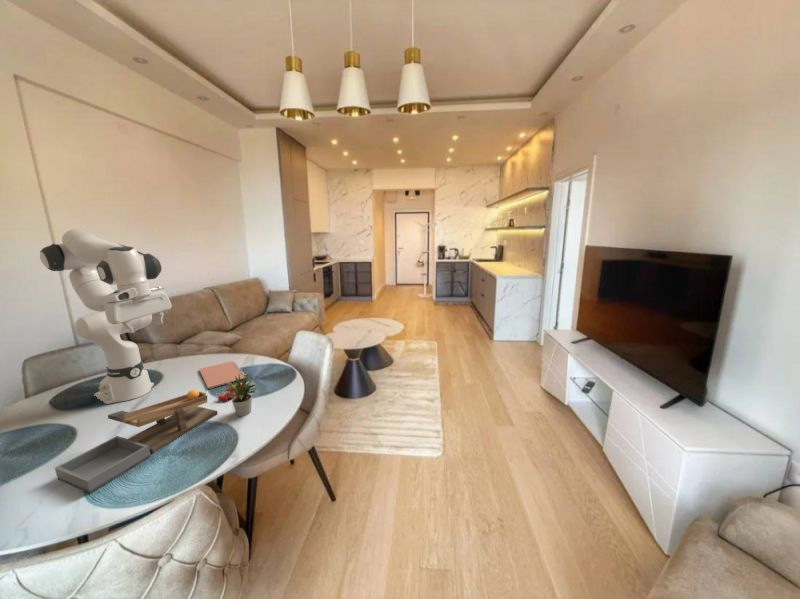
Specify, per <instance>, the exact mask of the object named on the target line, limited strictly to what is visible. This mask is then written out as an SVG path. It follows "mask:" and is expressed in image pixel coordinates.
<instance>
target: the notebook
mask: <svg viewBox="0 0 800 599" xmlns="http://www.w3.org/2000/svg"><path fill="white" fill-rule="evenodd" d="M240 370H241V371H240ZM199 372H200V374H201V376H202V378H203V380H204V383H205V384H206V387H207V389H208V390H211V389H215V387H216V388H218V386H219V387H222V386H221V385H223V386H225V385H224V384H226V385H228V384H227V383H225V382H226V381H228V382H229V383H230V382H232V381H233V382H234V381H236V378H235V376H236V377H237V378H238V380H239V374H240V379H243V378H244V377H245V376H244V375H246V373H244V371H243V370H242V369H241V367H240V366H239V365H238V364H237V362H236V361H233V360H230V361H227V362H223V363H217V364H214V365H209V366H205V367H201V368H199ZM227 379H229V380H227ZM231 380H232V381H231ZM234 383H235V382H234ZM218 384H220V385H218Z"/></svg>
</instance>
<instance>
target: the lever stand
mask: <svg viewBox="0 0 800 599" xmlns="http://www.w3.org/2000/svg"><path fill="white" fill-rule="evenodd" d="M218 413H219V412H218V410H215V409H210V408H206V407H203V406H202V407H201V406H196V407H193V408H190V409H188V410H185V411H184V410H183V409H181V408H180V409H178V410H176V411H175V416H174V415H171V416H168V417H166V418H163V419H160V420H157V421H155V422H156V423H155V424H153V425H151V426H149V427H148V428H145V429H144V430H142V431H140V432H138V433H136V434H134V435H133V436H130V437H129V438H128V439H129V440H132V441H135V442H138V443H141V444H145V445H148V446H149V450H150V452H152V453H151V454H153V453H154V454H156V453H157V452H159V451H160V450H162V449H163V448H165V447H166V445H167V446H169V445H170V444H172V443H173V442H175V441H177V440H178V439H179V437H180V436H181V437H183V436H184V435H183V434H185V433H186V434H188V433H189V432H188V431H190V430H191V431H193V430H194V429H193V428H195V427H196V428H198V427H199V426H201V425H203V424H204V423H206V422H209V421H210V419H212V418H214V417H216V416H218V415H219V414H218ZM202 423H203V424H202ZM197 426H198V427H197ZM196 428H195V429H196ZM192 429H193V430H192ZM191 431H190V432H191ZM187 432H188V433H187ZM186 434H185V435H186ZM182 435H183V436H182ZM181 437H180V438H181ZM177 438H178V439H177ZM176 439H177V440H176ZM174 440H175V441H174ZM171 442H172V443H171ZM164 446H165V447H164ZM162 447H163V448H162ZM161 448H162V449H161ZM159 449H160V450H159ZM158 450H159V451H158ZM156 451H157V452H156Z"/></svg>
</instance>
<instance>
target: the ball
mask: <svg viewBox="0 0 800 599" xmlns="http://www.w3.org/2000/svg"><path fill="white" fill-rule="evenodd" d="M198 391H199V390H198V389H191V390H189V391H188V392H187V393H186V394H187V398H188V399H189V400H193V399H196V398H198V397H199V392H200V391H199V392H198Z"/></svg>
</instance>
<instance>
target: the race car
mask: <svg viewBox="0 0 800 599" xmlns="http://www.w3.org/2000/svg"><path fill="white" fill-rule="evenodd" d="M233 385H234V386H235V385H237V383H235V384H233ZM241 385H242V382H241ZM230 387H231V386H228V388H227V389H225V390H224V391H223V392H222V393H220V394H219V395H218V401H219V402H230V401H232V399H233V398H234V397H235V396H234V395H236V393H235V392H234V390H232V388H230ZM230 389H231V390H230ZM226 393H232V394H234V395H232V396H228V397H226V396H225V394H226ZM236 396H237V395H236ZM225 397H226V398H225Z"/></svg>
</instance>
